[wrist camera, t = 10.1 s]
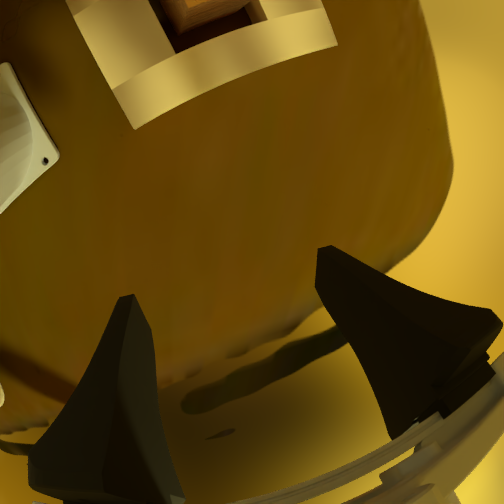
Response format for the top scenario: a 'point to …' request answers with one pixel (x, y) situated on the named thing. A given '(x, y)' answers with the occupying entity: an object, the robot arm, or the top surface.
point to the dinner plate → (1, 395)
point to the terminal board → (191, 50)
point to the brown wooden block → (198, 12)
